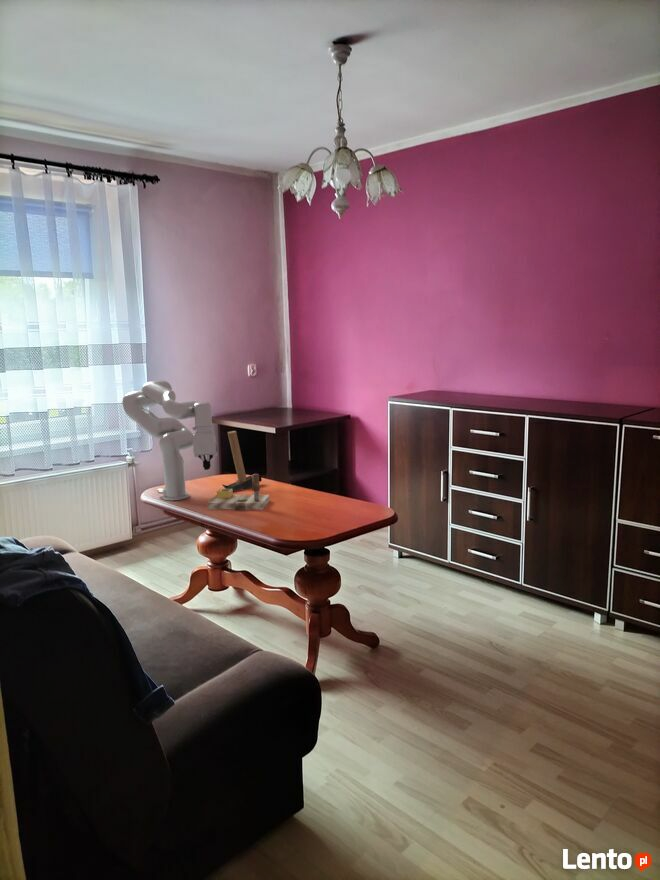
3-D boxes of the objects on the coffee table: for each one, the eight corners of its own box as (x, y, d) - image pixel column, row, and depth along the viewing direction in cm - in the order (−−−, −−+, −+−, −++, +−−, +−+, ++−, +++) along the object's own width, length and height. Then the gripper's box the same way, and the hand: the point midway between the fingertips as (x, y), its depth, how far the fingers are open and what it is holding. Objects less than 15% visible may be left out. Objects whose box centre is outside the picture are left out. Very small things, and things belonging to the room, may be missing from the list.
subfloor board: (206, 510, 285) (206, 503, 284) (218, 499, 301) (217, 493, 301) (261, 510, 281) (261, 504, 281) (270, 500, 298) (270, 494, 298)
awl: (252, 501, 285) (251, 475, 283) (254, 499, 288) (252, 473, 286) (259, 501, 285) (257, 475, 283) (260, 499, 288) (259, 473, 286)
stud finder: (217, 497, 293) (216, 490, 293) (220, 495, 298) (219, 488, 297) (229, 498, 292) (229, 490, 292) (232, 495, 297) (232, 488, 297)
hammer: (229, 497, 314) (216, 439, 306) (224, 495, 318) (211, 438, 309) (262, 482, 327) (250, 426, 318) (256, 480, 330) (244, 425, 322)
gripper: (185, 431, 288) (188, 471, 291) (217, 430, 286) (220, 470, 289) (191, 428, 295) (194, 467, 298) (222, 427, 293) (225, 467, 296)
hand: (207, 469), depth 294 cm, fingers closed
